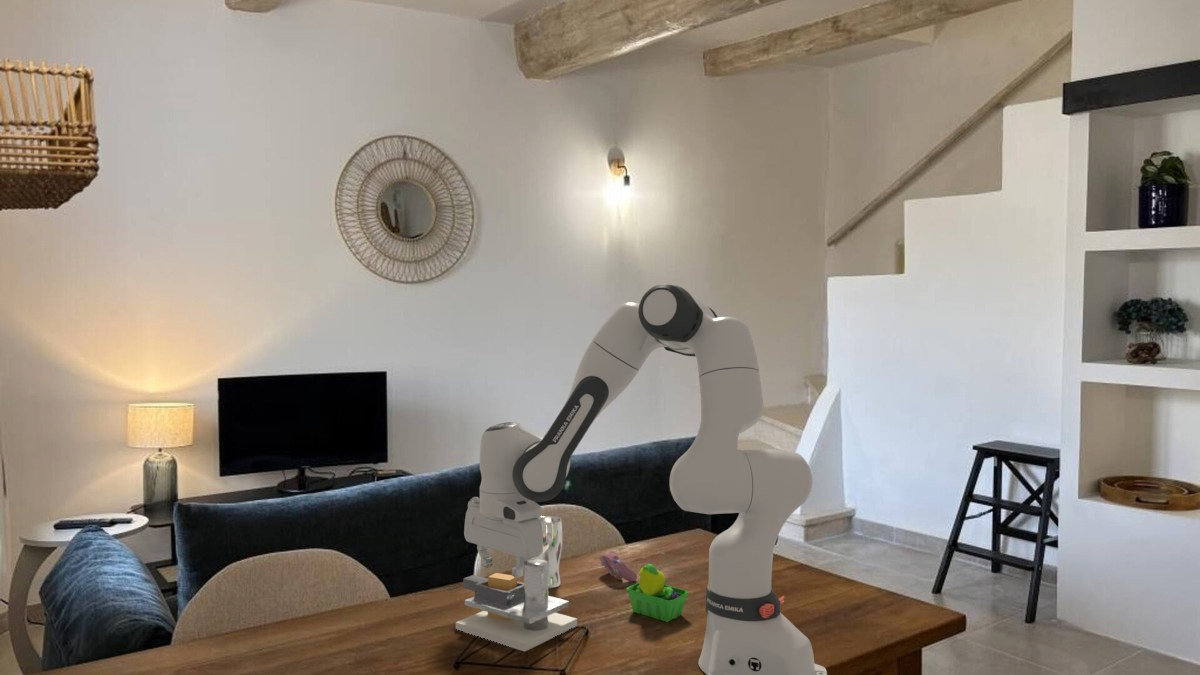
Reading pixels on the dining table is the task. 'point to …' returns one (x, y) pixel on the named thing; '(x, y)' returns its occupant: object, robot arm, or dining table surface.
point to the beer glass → (552, 547)
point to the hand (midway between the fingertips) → (501, 571)
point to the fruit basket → (656, 595)
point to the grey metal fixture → (518, 597)
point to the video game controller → (617, 567)
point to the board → (514, 629)
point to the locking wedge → (501, 586)
